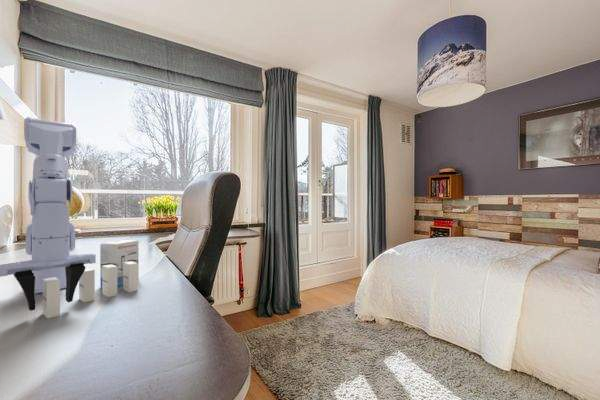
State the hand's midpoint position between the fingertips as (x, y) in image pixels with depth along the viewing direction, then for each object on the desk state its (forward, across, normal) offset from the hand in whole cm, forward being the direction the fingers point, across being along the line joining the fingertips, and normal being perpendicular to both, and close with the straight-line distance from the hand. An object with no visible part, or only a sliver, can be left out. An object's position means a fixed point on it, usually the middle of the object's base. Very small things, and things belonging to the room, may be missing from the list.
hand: (51, 304), depth 56 cm
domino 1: (+2, 0, 0) cm, 2 cm away
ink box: (+2, +17, +14) cm, 22 cm away
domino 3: (+2, +12, +5) cm, 13 cm away
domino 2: (+2, +7, +5) cm, 9 cm away
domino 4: (+2, +16, +5) cm, 17 cm away
